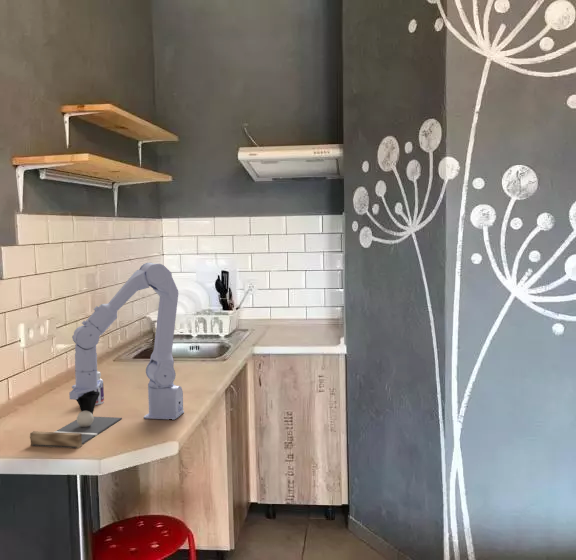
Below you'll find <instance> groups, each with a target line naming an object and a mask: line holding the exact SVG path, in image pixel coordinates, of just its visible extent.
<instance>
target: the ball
mask: <svg viewBox="0 0 576 560" xmlns="http://www.w3.org/2000/svg"><path fill="white" fill-rule="evenodd" d="M94 417H95V416H94V414H92V413H91V412H90V411H82V412H81V411H80V412H79V413H78V414H77V416H76V420H77V423H78V424H79V425H80V426H81V427H88V426H90V425H91V424H92V423H93V420H94Z"/></svg>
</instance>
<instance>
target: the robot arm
mask: <svg viewBox="0 0 576 560" xmlns="http://www.w3.org/2000/svg"><path fill="white" fill-rule="evenodd" d="M150 288H152V290H153V291H154V292H155V293H156V294H157V295H158V296H159V299H158V300H159V301H158V310H157V317H156V327H155V328H156V329H155V334H154V335H155V337H154V344H153V351H152V353H151V354H150V360H149V362H148V363H147V365H146V368H145V376H146V377H147V378H148V380H149V381H148V384H147V390H148V391H147V393H148V394H147V396H148V397H147V399H148V400H147V401H148V413H146V414H145V415H144V416H143V419H148V420H149V419H150V420H152V419H153V420H169V419H172V420H173V421H174V420H176V419H178V418H179V417H180V416H181V415H182V414H184V413H185V410H184V391H183V388H182V386H180V385H176V384H175V383H174V382H175V380H176V370H175V367H174V365H175V364H174V363H175V361H174V358H173V343H174V337H175V336H174V334H175V326H176V318H177V308H178V300H179V289H178V287H177V284H176V283H175V280H174V279H173V274H172V271H170V270H169V269H168V268H167V266H165V265H164V264H162V263H153V262H145V263H142V265H141V266H140V267H139V269H137V270H135V271H134V272H133V274H131V276H130V277H129V278H128V280H126V282H125V283H124V284H123V286H121V288H120V289H118V291H117V292H116V293H115V294H114V296H113V297H112V298H111V300H110V301H108V303H102V304H100V305H99V306H97V305H96V306H94V308H93V310H94V311H93V312H92V314H91V315H90V316H89V317H88V318H87V319H86V320H83V321H82V322H81V324H82V325H80V326H77V327H76V328H75V330H74V331H73V335H72V337H71V338H72V341H73V343H74V344H75V346H74V352H75V353H74V371H75V372H74V373H75V375H74V376H75V384H73V385H72V386H71V389H72V390H70V391H69V396H68V397H69V400H75V401H76V402H77V404H78V406H79V408H80V412H82V411H90V412H91V413H92V414H93V413H94V411H95V406H96V405H95V404H96V401H97V399H98V397H99V395H100V392H96V391H94V390H96V389H98V388H101V387H104V380H103V379H102V380H97V371H98V353H97V345H98V343H99V341H100V337H101V336H102V335H103V334H104V333H105V332H106V331H107V330H108V329H109V328H110V326H111V325H112V324H113V323H114V322H115V321H116V320H117V319H118V311H119V310H120V309H121V308H122V307H123V306H124V305H126V303H127V302H128V301H129V300H130V299H131V298H132V297H134V295H135V294H136V293H137V292H138V291H141V290H145V289H150ZM93 415H94V414H93Z"/></svg>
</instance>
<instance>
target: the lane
mask: <svg viewBox="0 0 576 560" xmlns="http://www.w3.org/2000/svg"><path fill="white" fill-rule="evenodd" d="M93 417H94V420H93V423H92V424H91V425H90V426H88V427H81V426H80V425H79V424H78V423H77V419H75V420H73V421H71V422H70V423H68V424H65V426H62V427H60V428H58V429H57V430H56V431H55V430H54V432H59V433H80V434H81V438H82V446H83V445H84V444H85V443H87V442H89V441H90V440H92V439H93V438H95V437H96V436H97V435H98V436H99V434H101V433H103V432H104V431H106V430H107V429H109V428H110V427H112V426H113V425H115V424H116V423H119V421H121V420H122V419H123V418H122V417H115V416H114V417H111V416H109V417H108V416H93ZM36 445H37V444H34V446H33V447H49V448H51V447H52V446H47V445H46V446H44V445H42V446H40V445H38V446H36ZM65 447H67V448H68V447H69V448H70V449H78V448H77V447H76V448H75V446H72V448H71V446H54V445H53V447H52V448H65Z"/></svg>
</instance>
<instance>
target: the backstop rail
mask: <svg viewBox="0 0 576 560" xmlns="http://www.w3.org/2000/svg"><path fill="white" fill-rule="evenodd" d="M29 437H30V438H29V439H30V446H31V447H46V445H47V446H52V448H54V447H53V445H54V446H71V448H70V449H73V448H72V446H75V448H74V449H80V448H81V447H83V445H82V438H81V434H80V433H59V432H55V431H35V430H33V431H32V432H30V434H29ZM34 444H37V445H36V446H34ZM38 445H40V446H38ZM42 445H44V446H42ZM76 447H77V448H76ZM64 448H67V447H64ZM68 448H69V447H68Z"/></svg>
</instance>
